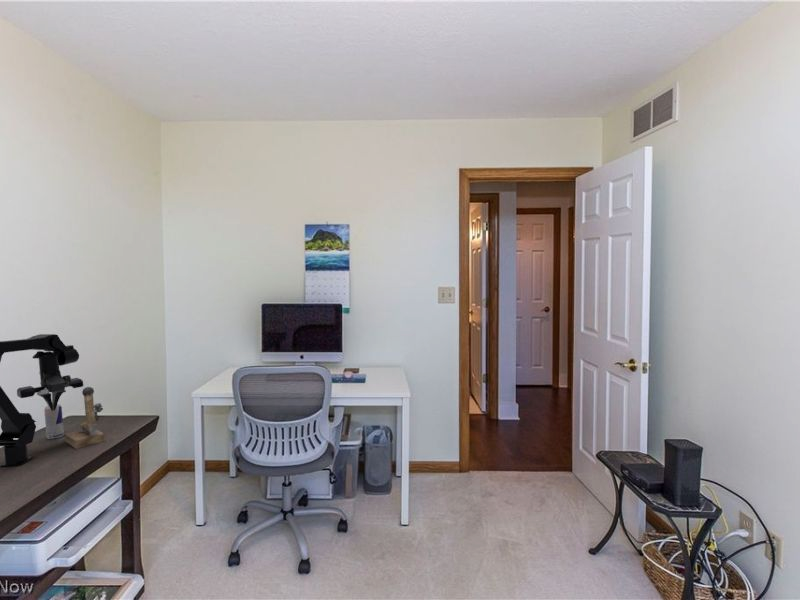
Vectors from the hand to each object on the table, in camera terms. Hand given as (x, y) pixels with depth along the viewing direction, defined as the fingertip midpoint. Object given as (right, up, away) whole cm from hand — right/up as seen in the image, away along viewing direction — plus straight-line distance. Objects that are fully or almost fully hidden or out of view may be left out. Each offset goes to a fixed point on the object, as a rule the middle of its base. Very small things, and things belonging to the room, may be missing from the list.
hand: (53, 410), depth 170 cm
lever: (+12, -8, +3) cm, 15 cm away
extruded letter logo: (-4, -11, +29) cm, 31 cm away
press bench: (+9, -13, +4) cm, 16 cm away
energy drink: (-6, -13, +10) cm, 17 cm away
